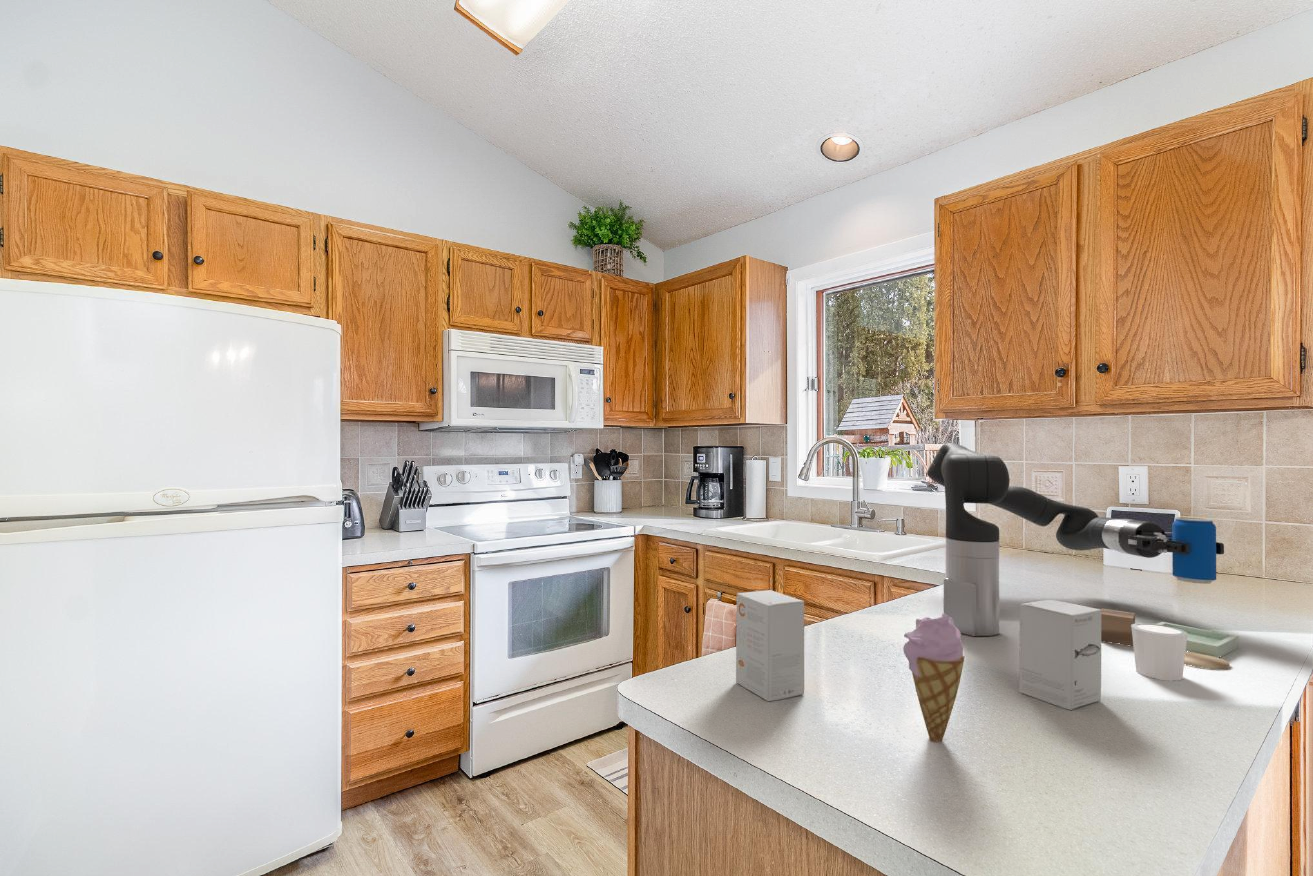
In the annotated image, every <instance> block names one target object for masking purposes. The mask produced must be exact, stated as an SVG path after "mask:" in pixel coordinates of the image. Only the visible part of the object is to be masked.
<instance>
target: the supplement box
mask: <svg viewBox="0 0 1313 876" xmlns="http://www.w3.org/2000/svg"><path fill="white" fill-rule="evenodd" d="M1018 649H1019V659H1018V661H1019V663H1018V668H1019V669H1018V675H1019V677H1018V678H1019V679H1018V681H1019V682H1018V685H1019V686H1018V691H1019V693H1021V694H1023V695H1026V696H1029V697H1032V698H1035V699H1037V700H1041V701H1044V702H1046V703H1049V704H1051V705H1055V706H1056V707H1060V708H1062V709H1065V710H1070V711H1072V710H1075V709H1076V708H1080V707H1082V706H1085V705H1090V704H1093V703H1098V702H1100V701H1102V641H1101V608H1096V607H1095V608H1094V607H1091V606H1087V605H1086V606H1085V605H1081V604H1077V603H1071V602H1065V601H1060V600H1056V599H1044V600H1043V599H1042V600H1038V601H1032V602H1025V603H1020V604H1019V647H1018Z"/></svg>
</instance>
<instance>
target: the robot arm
mask: <svg viewBox="0 0 1313 876" xmlns="http://www.w3.org/2000/svg"><path fill="white" fill-rule="evenodd" d="M926 474H927V476H928V478H929V479H930V480H931V481H933V482H935V483H937V484H938V485H940V486H942V487H944V497H945V498H944V499H945V501H944V502H945V578H944V579H943V613H944V614H946V615H947V616H948V617H951V618H952V619H953V622H954V626H955V627H956V628H957V629H958V630H959V631H960V633H961V634H963V635H967V636H971V637H978V636H980V637H981V636H984V637H985V636H987V637H989V636H995V635H998V634H1000V528H999V527H998V525H996V524H995V523H992V522H989V521H987V520H985V519H980V518H979V517H977V516H974V515H973V514H971V513H970V512H968V511H967V509H965V504H980V505H981V504H989V505H991V506H994V507H997V508H1000V509H1003V510H1005V511H1007V512H1009V513H1012V514H1014V515H1016V516H1018V517H1021V518H1023V519H1024V520H1026V521H1028V522H1030V523H1033V524H1034V525H1036V526H1040V527H1046V526H1049V525H1050V524H1051V523H1052V522H1053V521H1054V519H1056V517H1058V516H1059V515H1063V518H1062V520H1061V522H1060V524H1059V525H1058V528H1057V530H1056V533H1055V537H1056V540H1057V542H1058V544H1060V545H1061V546H1062V547H1063V548H1065V549H1068V550H1071V551H1072V550H1073V551H1089V550H1097V549H1106V550H1111V551H1115V552H1119V553H1121V554H1126V555H1132V556H1135V557H1136V556H1137V557H1141V558H1148V559H1153V558H1156V557H1159V556H1160V555H1161V554H1166V553H1172V552H1174V553H1179V554H1189V553H1190V545H1189V543H1186V542H1179V541H1173V540H1172V531H1171V532H1170V531H1165V530H1164V529H1163V527H1162V526H1161V525H1160V524H1158V523H1155V522H1152V521H1145V520H1139V519H1130V518H1112V517H1106V516H1099V515H1098V514H1097V512H1095V511H1094V510H1092V509H1090V508H1087V507H1084V506H1079V505H1073V504H1067V503H1064V502H1060V501H1058V500H1054V499H1052V498H1048V497H1046V496H1044V495H1042V494H1041V493H1038V492H1036V491H1034V490H1032V489H1029V488H1027V487H1022V486H1016V485H1015V486H1014V485H1013V486H1012V485H1011V486H1010V483H1011V481H1010V480H1011V478H1010V472H1009V470H1008V468H1007V465H1006V463H1005V462H1004V460H1003V459H1002V458H1000V457H999V456H996V455H990V454H989V455H988V454H987V455H984V454H980V453H978V452H976V451H974V450H971V449H969V448H967V447H965V446H963V445H962V444H957V443H955V442H954V443H953V442H947V443H944V444H943V445H941V446H940V448H939V449H938V452H937V453H936V455H935V456H934V457H933V459H932V462H931V464H930V466H929V467H928V468H927V472H926ZM1224 554H1225V544H1224V543H1223V542H1219V541H1216V555H1224Z"/></svg>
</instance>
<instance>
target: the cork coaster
mask: <svg viewBox="0 0 1313 876" xmlns="http://www.w3.org/2000/svg"><path fill="white" fill-rule="evenodd" d="M1184 664H1186V665H1185V666H1187V665H1192V666H1195V667H1194V668H1197V667H1203V668H1202V669H1204V668H1209V669H1208V670H1214V669H1223V670H1228V669H1229V668H1230V662H1228V661H1227V660H1225V659H1223V658H1221V657H1220V658H1217V657H1214V656H1210V655H1206V654H1201V653H1195V652H1187V651H1185V660H1184ZM1192 666H1191V667H1192ZM1227 668H1228V669H1227Z"/></svg>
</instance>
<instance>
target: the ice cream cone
mask: <svg viewBox="0 0 1313 876" xmlns="http://www.w3.org/2000/svg"><path fill="white" fill-rule="evenodd" d="M903 636H904V638H906V639H908V641H907V642H905V643H904V645H903V654H904V656H905V658H906V659H907V661H908V669H909V671H911V673H912V679H913V683H914V687H915V688H914V689H915V692H916V695H917V699H918V703H919V708H920V711H921V713H922V714H921V715H922V717H923V720H924V721H923V722H924V724H925V728H926V731H927V735H928V738H929V740H930V741H932V742H936V743H942V741H943V740H944V737H945V734H946V731H947V728H948V727H947V726H948V724H949V721H950V717H951V714H952V712H953V708H954V705H955V702H956V698H957V694H958V689H959V687H960V683H961V678H962V674H963V668H964V663H965V656H964V654H963V653H964V652H963V651H964V645H963V642H962V641H961V639H962V633H960V631H959V630H958V629H957V628H956V627H955V626H954V622H953V619H952V618H951V617H948V616H947V615H946V614H944V612H942V615H941V616H940V617H938V618H930V617H929V616H926V617H923V618H922V619H920V618H916V619H915V629H913V631H908V632H905V633H904V634H903Z"/></svg>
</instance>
